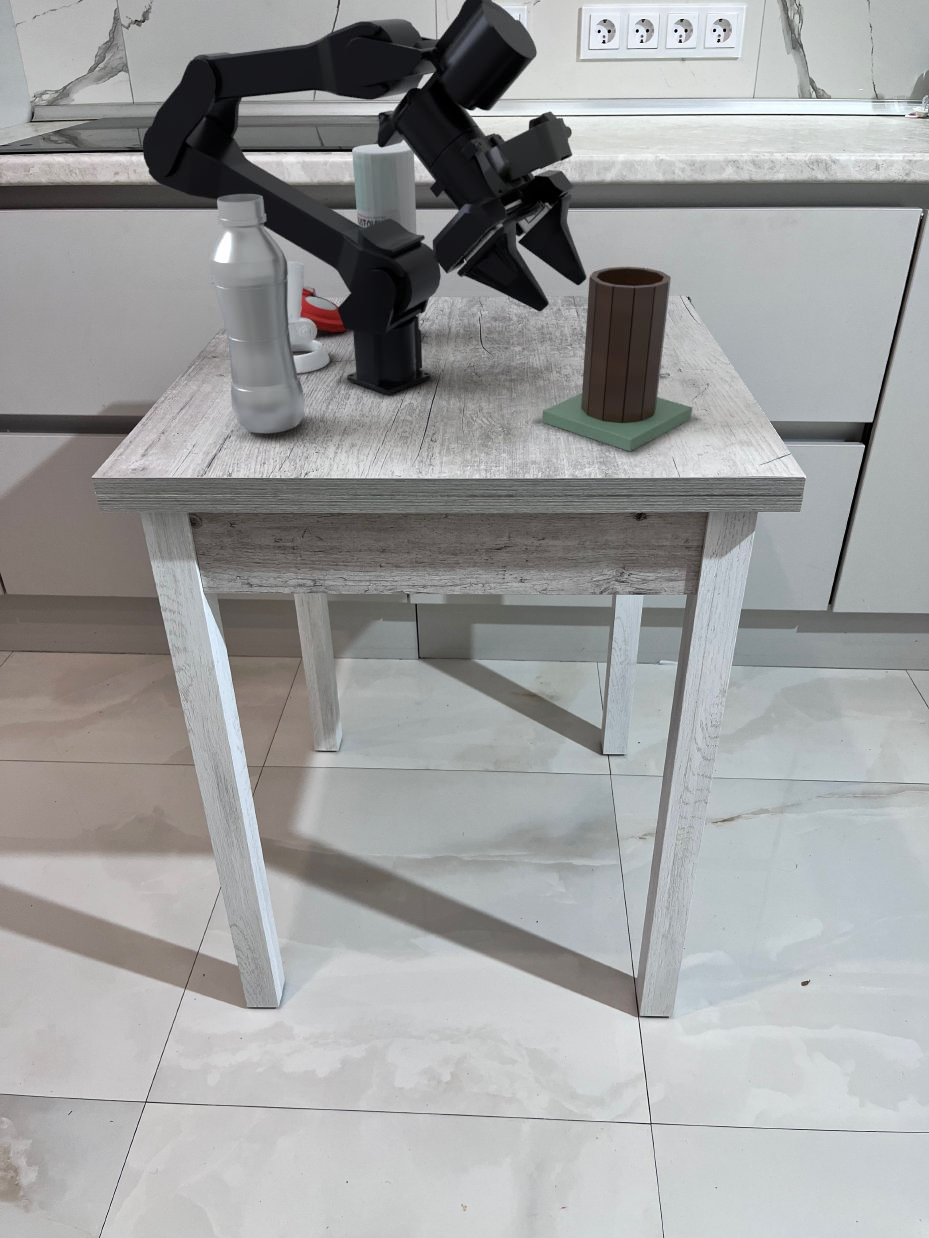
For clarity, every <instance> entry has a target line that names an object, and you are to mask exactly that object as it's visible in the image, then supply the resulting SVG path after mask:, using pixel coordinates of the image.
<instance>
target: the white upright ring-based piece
mask: <svg viewBox="0 0 929 1238" xmlns="http://www.w3.org/2000/svg"><path fill="white" fill-rule="evenodd" d="M286 261H287V267H288V275H287V277H288V307H287V308H288V321H289V325H288V328H289V334H290V342H291V347H292V352H293V353H294V352H308V353H304V354H300V355H293V357H294V361H295V366H296V371H297V374H303V373H309V372H313V371H317V370H319V369H322V368H324V367H326V366H327V365H328V364H329V363H330V359H331V358H330V356H329V354H328V351H327V350H326V348H325V347H324V345H323V343H321V342H320V341H319V340H317V339H316V337H317V334H318V329H317V328H316V325H315V324H314V322H313V321H311V320H310V319H307V318H303V317H300V313H301V309H302V306H301V302H302V291H303V285H304V279H305V265H304V264H303V263H301V262H299V261H293V260H291V261H290V260H286ZM315 339H316V340H315Z"/></svg>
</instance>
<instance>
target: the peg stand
mask: <svg viewBox="0 0 929 1238" xmlns="http://www.w3.org/2000/svg"><path fill="white" fill-rule="evenodd" d="M581 402H582V392H580V393H578V394H576V395H574V396H572V397H570V398H567V399H565V400H563V401H560V402H558V403H556V404H554V405H552V406H550V407H548V408H545V409H543V410H542V423H544V424H547V425H550V426H553V427H556V428H559V429H562V430H565V431H568V432H571V433H574V434H578V435H580V436H583V437H585V438H589V439H592V440H594V441H598V442H600V443H603V444H606V445H610V446H612V447H615V448H618V449H621V450H624V451H627V452H632V451H634V450H636V449H638V448H640V447H642V446H643V445H645V444H647V443H649V442H650V441H652V440H654V439H656V438H658V437H659V436H662V435H664V434H665V433H667V432H669V431H671V430H673V429H675V428H676V427H678V426H681V425H682V424H684V423H686V422H688V421H690V420H691V419H692V413H693V406H690V405H687V404H683V403H679V402H676V401H674V400H668V399H665V398H662V397H658V396H657V405H656V410H655V413H654V415H653V416H652V417H649V418H647V419H645V420H643V421H641V420H640V421H637V422H628V423H623V422H622V423H617V422H607V421H601V420H599V419H596V418H593V417H590V416H588V415H587V414H586V413H585V412H584V411H583V410H582V409H581Z"/></svg>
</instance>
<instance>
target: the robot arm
mask: <svg viewBox="0 0 929 1238" xmlns="http://www.w3.org/2000/svg"><path fill="white" fill-rule="evenodd" d="M537 53H538V51H537V46H536V44H535V42H534V40H533V38H532V36H531V34H530V32H529V31H528V30H527V29H526V27H525V25H524V24H523V23H522V21H521V20H519V19H515V17H514V16H512V15H511V14H510V12H508V11H507V10H506V9H505V8H503V7H502V6H500V4H498V3H496V2H494V1H493V0H464V2H463V3H462V4H461V8H460V10H459V12H458V14H457V15H456V16H455V18H454V19H453V20H452V22H451V23H450V25H449V26H448V27H447V29H446V30H445V31H444V33H443V34H442V35H441V36H440V38H437V39H435V38H431V37H426V36H421V34H420V32H419V31H418V30H417V28H415V27H414V25H413V24H412V22H410V21H408V20H407V19H404V18H388V19H387V18H386V19H376V20H361V21H358V22H357V21H356V22H354V23H352V24H349V25H347V26H344V27H342V28H340V29H336V30H334V31H331V32H329V33H328V34H326V35H324V36H322V37H320V38H319V39H317V40H315V41H312V42H309V43H307V44H299V45H291V46H282V47H273V48H268V49H261V50H253V51H252V50H251V51H245V52H244V51H243V52H237V53H230V52H227V51H226V52H223V51H222V52H214V53H204V54H198V55H196V56H194V57H193V58H192V60H189V62H188V64H187V65H186V67H185V69H184V71H183V75H182V77H181V80H180V82H179V83H178V84H177V86H176V87H175V88H174V90H173V91H172V92H171V93H170V95H168V97H167V98H166V99H165V101H164V102H163V103H162V104H161V106H160V107H159V109H158V110H157V111H156V113H155V116H154V118H153V121H152V123H151V125H150V126H149V127H148V128H147V130H146V131H145V133H144V135H143V139H142V154H143V160H144V162H145V164H146V167H147V168H148V174H149V176H151V178H152V179H153V180H154V181H155V182H156V183H157V184H159V185H160V186H162V187H165V188H166V189H167V188H168V189H170V190H173V191H175V192H179V193H181V194H184V195H187V196H191V197H197V198H202V199H209V200H215V201H217V199H218V198H220V197H223V196H227V195H236V194H255V195H260V196H262V197H263V202H264V212H265V214H266V218H267V221H266V222H264V223H263V224H264V228H265V229H268V230H269V231H271V232H273V233H275V234H277V235H278V236H280V237H281V238H283V239H285V240H286V241H288V242H290V243H291V244H293V245H295V246H296V247H298V248H300V249H301V250H303V251H305V252H307V253H308V254H310V255H311V256H313V257H315V258H317V259H318V260H320V261H321V262H323V263H325V264H327V265H328V266H330V267H332V268H333V269H334V270H335V271H336V272H337V273H338V274H339V277H340V278H341V279H342V281H343V282H344V285H345V286H346V288H347V290H348V291H349V293H350V294H348V296H347V297H346V298H345V299H344V300H343V301H342V303H341V304H339V306H338V313H339V315H340V318H341V321H342V323H343V326H344V328H345V329H346V330H345V331H352V335H353V336H352V337H353V348H354V349H353V350H354V362H355V371H354V372H351V373H349V374H347V375H346V380H347V381H348V382H350V383H353V384H356V385H358V386H359V385H360V386H362V387H365V388H368V389H371V390H373V391H377V392H378V393H381V394H385V395H390V394H393V393H396V392H399V391H401V390H404V389H407V388H409V387H412V386H415V385H418V384H420V383H422V382H425V381H428V380H431V378H432V373H431V372H428V371H425V370H422V368H423V350H422V348H423V347H422V331H421V329H420V321H419V322H418V316H416V315H418V314H419V315H420V314H423V313H425V312H426V310H427V307H428V304H429V300H430V298H431V297H432V296H433V295H434V294H436V292H437V291H438V290H439V287H440V283H441V279H442V276H441V269H442V270H443V271H444V272H445V273H446V274H449V273H451V272H453V271H455V270H457V269H459V270H457V272H456V274H457V275H458V276H459V277H460V278H462V277H466V278H468V279H470V280H473V281H475V282H477V283H480V284H481V285H484V286H486V287H489V288H491V289H493V290H495V291H496V292H499V293H501V294H504V295H505V296H508V297H509V298H511V299H513V300H515V301H517V302H520V303H522V304H523V305H525V306H527V307H530V308H531V309H533V310H535V311H537V312H542V311H544V310H545V309H546V308H547V307H548V306H549V305H550V302H549V300H548V298H547V296H546V294H545V292H544V290H543V288H542V287H541V285H540V283H539V282H538V281H537V278H536V277H535V276H534V274H533V272H532V270H531V269H530V267H529V266H528V264H527V262H526V261H525V259H524V258H523V256H522V255H521V252H520V251H519V250H518V247H517V243H518V244H519V245H521V246H522V247H523V248H524V249H526V250H527V251H529V252H530V253H531V254H532V255H534V256H535V257H537V258H538V259H539V260H541V261H542V262H543V263H545V264H546V265H548V266H549V267H550V268H552V269H553V270H555V271H556V272H557V273H558V274H560V275H562V276H563V277H564V278H565V279H567V280H569V281H570V282H572V283H573V284H574V285H576V286H580V285H582V284H583V283H584V282H585V281H587V277H588V276H587V274H586V271H585V268H584V266H583V263H582V260H581V257H580V255H579V253H578V250H577V247H576V244H575V242H574V239H573V236H572V233H571V230H570V227H569V224H568V214H569V209H570V208H569V207H570V203H571V202H572V200H573V195H572V193H570V192H571V191H573V189H574V185H573V184H572V182H571V181H570V180H569V178H568V177H567V176H566V175H565V173H564V172H563V171H562V170H557V169H556V170H555V169H547V170H545V171H543V172H540V173H538V174H536V175H534V174H533V172H535V171H537V170H542V169H544V168H546V167H549V166H551V165H553V164H556V163H558V162H562V161H564V160H567V159H570V158H571V157H573V152H572V149H571V145H570V143H569V139H570V138H571V136H572V133H573V132H572V128H571V127H570V126H568V125H566V124H565V121H564V118H563V117H557V116H555V114H554V113H553V112H552V111H547V112H544V113H541V115H540V116H537V117H535V118H531V119H530V120H529V121H528V129H527V130H525V131H524V132H523V131H522V132H521V133H519V134H517V135H516V136H513V137H511V138H509V139H507V140H505V139H504V138H503V137H502V136H501V135H500V134H499V133H495V132H494V133H490V134H487V135H486V134H485V133H484V131H483V130H482V128H481V127H480V126H479V124H478V123H477V122H476V120H474V118H473V117H472V115H471V114H470V113H469V111H471V112H473V111H475V110H476V109H479V110H481V111H487V112H488V111H491V110H492V109H493V108H494V107H495V105H496V104H497V103H498V102H499V100H500V99H501V98H502V97H503V96H504V94H506V93H507V92H508V90H509V89H510V88H511V87H512V85H513V84H514V83H515V82H516V81H517V80H518V78H519V77H520V76H521V74H523V72H524V71H525V70H526V69H527V67H528V66H529V65H530V64H531V63H532V61H533V60H534V59H536V57H537ZM430 74H432V75H431V76H430V77H429V78H428V80H426V82H425V84H423V86H422V87H421V88H420V87H419V84H420V83H421V81H422V79H423V78H424V76H425V75H426V76H427V75H430ZM310 91H317V92H318V91H319V92H325V93H328V94H332V95H335V96H339V97H345V98H351V99H359V100H366V101H367V100H368V101H373V100H378V99H383V98H388V97H393V96H399V95H402V94H404V96H403V97H402V99H401V100H400V101H399V103H398V104H397V105H396V107H394V109H393V110H386V111H380V112H379V113H378V115H377V118H378V131H377V143H376V144H378V146H379V147H381V148H383V147H387V146H391V145H394V144H401V143H402V142H403V141H404V142H405V144H406V145H408V146H409V147H410V149H411V150H412V151H413V152H414V156H415V157H416V158H417V159H418V160H419V162H420V163H421V164H422V166H423V167H424V169H425V170H426V171H427V172H428V173H429V175H430V177H432V179H433V180H434V182H433V184H432V185H431V186H430V187H429V189H430V191H431V192H432V193H433V195H434V196H435V198H440V197H442V196H445V195H446V197H447V198H448V199H449V200H450V202H451V203H452V205H453V206H454V208H456V209H457V213H456V214H455V215H454V216H453V217H452V218H451V219H450V220H449V221H448V222H447V224H445V226H444V227H443V228H442V229H441V230H440V231H439V232H438V233H437V235H436V236H434V238H433V239H432V248H431V247H430V246H429V245H427V244H426V243H424V242H423V241H424V240H425V239H426V236H425V235H423V234H417V233H416V234H417V235H416V234H414V233H411V232H409V231H408V230H406V229H405V228H404V227H403V226H402V225H400V224H399V223H398V222H396V221H394V220H392V219H390V218H389V219H386V220H383V221H381V222H378V223H376V224H373V225H371V226H368V227H366V228H364V227H361V226H359V225H358V223H356V222H354V221H352V220H351V219H349V218H347V217H345V216H344V215H343V214H341V213H339V212H337V211H335V210H334V209H332V208H330V207H328V206H326V205H325V204H323V203H321V202H320V201H318V200H316V199H315V198H313V197H311V196H309V195H308V194H306V193H305V192H303V191H302V190H299V189H298V188H296V187H295V186H293V185H291V184H289V183H288V182H285V181H284V180H282V179H281V178H279V177H277V176H276V175H274V174H272V173H270V172H268V171H267V170H265V169H264V168H262V167H260V166H259V165H256V164H255V163H253V162H252V161H250V160H249V159H247V157H246V156H245V154H244V151H242V148H241V147H240V145H239V144H238V142H237V140H236V139H235V138H234V137H235V135H236V134H237V133H236V132H237V130H238V128H239V114H240V113H239V112H240V104H241V102H242V99H243V98H250V97H251V98H252V97H261V96H272V95H281V94H291V93H301V92H310ZM517 237H521V238H519V240H518V241H517Z"/></svg>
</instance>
